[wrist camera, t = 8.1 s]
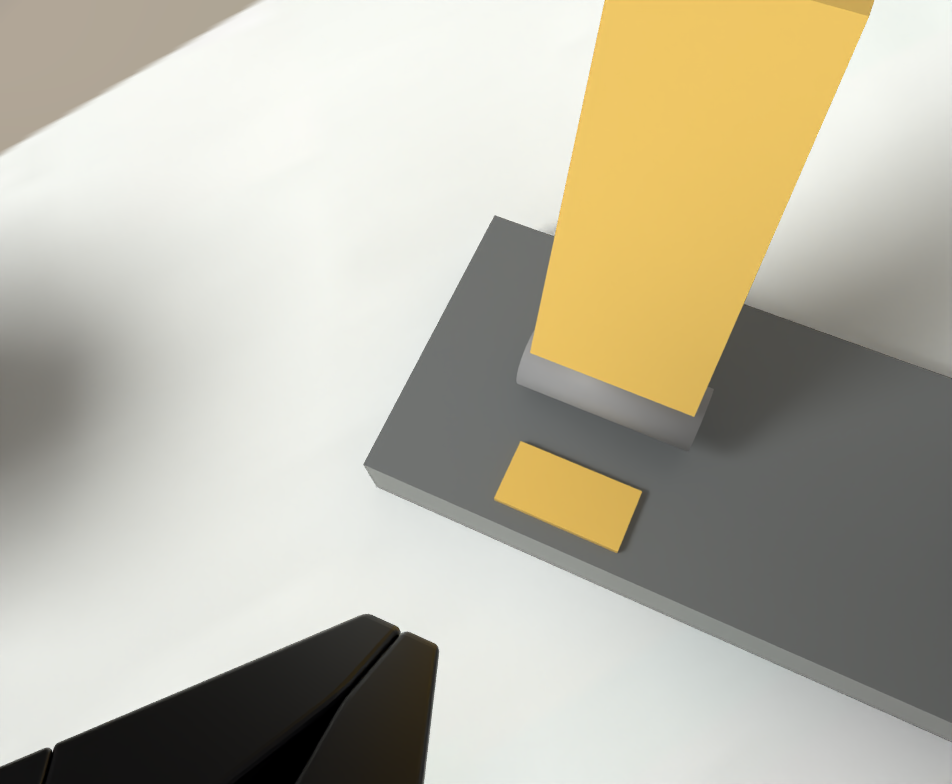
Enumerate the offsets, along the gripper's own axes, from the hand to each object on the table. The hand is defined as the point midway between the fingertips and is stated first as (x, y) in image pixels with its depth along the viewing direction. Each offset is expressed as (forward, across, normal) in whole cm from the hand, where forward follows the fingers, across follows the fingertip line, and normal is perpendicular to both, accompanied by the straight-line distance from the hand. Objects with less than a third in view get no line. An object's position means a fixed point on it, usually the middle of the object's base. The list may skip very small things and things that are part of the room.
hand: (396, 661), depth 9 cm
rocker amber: (+13, 0, +1) cm, 13 cm away
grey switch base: (+15, -6, +4) cm, 17 cm away
